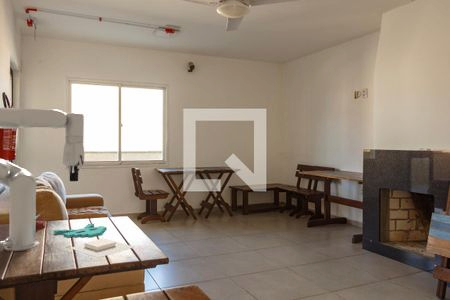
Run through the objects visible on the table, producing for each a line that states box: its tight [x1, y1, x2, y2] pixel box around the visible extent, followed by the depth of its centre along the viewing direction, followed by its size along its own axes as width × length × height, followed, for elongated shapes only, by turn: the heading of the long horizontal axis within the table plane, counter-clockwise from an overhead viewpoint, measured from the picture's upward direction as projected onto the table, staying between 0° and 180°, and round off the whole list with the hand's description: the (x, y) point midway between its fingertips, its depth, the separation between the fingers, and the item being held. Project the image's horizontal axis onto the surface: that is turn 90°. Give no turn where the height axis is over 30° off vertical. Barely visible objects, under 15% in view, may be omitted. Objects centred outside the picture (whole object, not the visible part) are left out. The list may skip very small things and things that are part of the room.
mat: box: [69, 238, 135, 259], centre depth 146 cm, size 18×20×1 cm
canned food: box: [36, 211, 47, 230], centre depth 180 cm, size 11×10×10 cm
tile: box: [84, 238, 117, 251], centre depth 147 cm, size 9×2×9 cm
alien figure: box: [53, 222, 108, 238], centre depth 171 cm, size 20×2×20 cm
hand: (73, 181), depth 157 cm, fingers closed
